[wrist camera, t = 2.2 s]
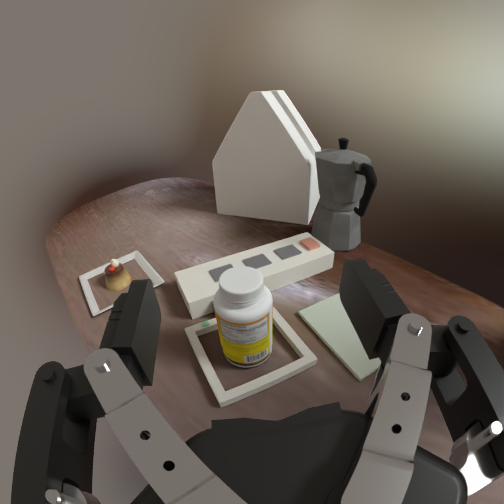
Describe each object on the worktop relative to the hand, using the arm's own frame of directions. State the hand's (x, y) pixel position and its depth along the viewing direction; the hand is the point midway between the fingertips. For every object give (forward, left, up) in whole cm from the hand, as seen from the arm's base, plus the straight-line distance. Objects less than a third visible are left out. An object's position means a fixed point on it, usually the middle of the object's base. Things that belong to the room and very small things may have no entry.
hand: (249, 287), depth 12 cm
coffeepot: (-28, -24, -19) cm, 41 cm away
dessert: (+9, -31, -19) cm, 38 cm away
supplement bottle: (-4, -11, -19) cm, 22 cm away
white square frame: (-4, -11, -18) cm, 22 cm away
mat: (-18, -7, -18) cm, 26 cm away
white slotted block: (-26, -44, -19) cm, 54 cm away
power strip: (-11, -20, -18) cm, 29 cm away
